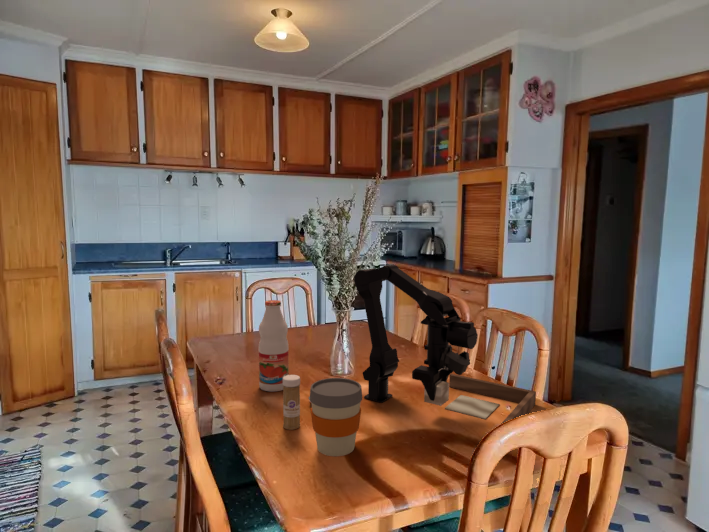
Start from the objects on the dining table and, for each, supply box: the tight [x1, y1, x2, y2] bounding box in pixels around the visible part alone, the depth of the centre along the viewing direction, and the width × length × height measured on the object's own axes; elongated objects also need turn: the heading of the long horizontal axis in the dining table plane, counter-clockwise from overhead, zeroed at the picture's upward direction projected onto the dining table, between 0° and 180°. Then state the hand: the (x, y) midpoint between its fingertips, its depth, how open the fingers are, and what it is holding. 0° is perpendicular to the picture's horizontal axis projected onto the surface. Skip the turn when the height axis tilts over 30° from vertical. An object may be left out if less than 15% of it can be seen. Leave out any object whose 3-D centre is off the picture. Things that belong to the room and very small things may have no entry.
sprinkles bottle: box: [282, 374, 301, 431], centre depth 124 cm, size 5×5×14 cm
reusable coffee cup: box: [309, 377, 363, 457], centre depth 113 cm, size 13×12×15 cm
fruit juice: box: [258, 299, 290, 393], centre depth 152 cm, size 9×9×28 cm
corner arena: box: [444, 373, 537, 425], centre depth 136 cm, size 28×26×4 cm
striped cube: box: [423, 380, 450, 407], centre depth 131 cm, size 5×5×5 cm
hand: (436, 397), depth 131 cm, fingers closed on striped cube, 5 cm apart
